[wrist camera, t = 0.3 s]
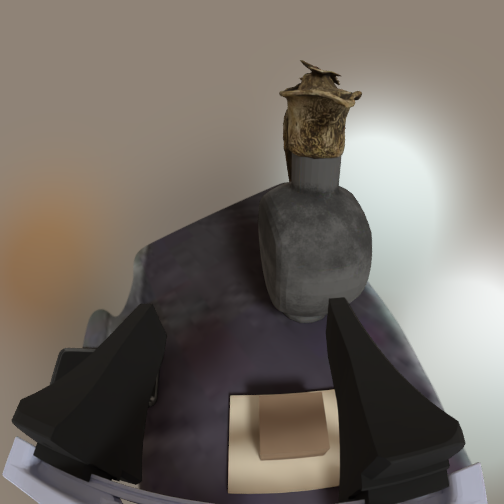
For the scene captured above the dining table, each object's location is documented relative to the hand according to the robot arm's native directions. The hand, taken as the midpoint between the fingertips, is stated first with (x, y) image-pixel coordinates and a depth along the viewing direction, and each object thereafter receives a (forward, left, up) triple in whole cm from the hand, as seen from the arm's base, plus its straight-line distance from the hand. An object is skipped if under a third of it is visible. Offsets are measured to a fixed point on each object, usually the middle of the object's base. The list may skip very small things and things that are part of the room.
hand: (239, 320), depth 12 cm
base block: (+1, -4, -20) cm, 20 cm away
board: (0, -6, -20) cm, 21 cm away
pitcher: (+22, -7, -21) cm, 30 cm away
